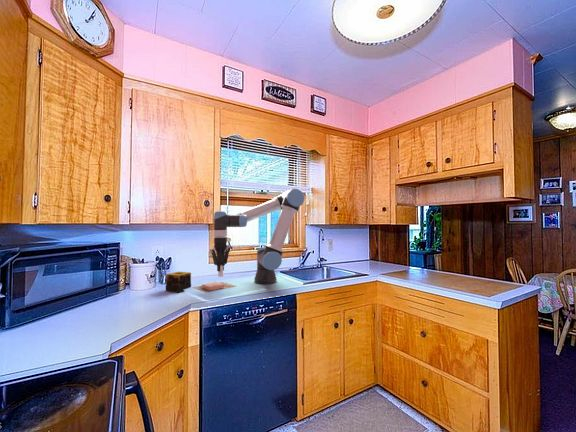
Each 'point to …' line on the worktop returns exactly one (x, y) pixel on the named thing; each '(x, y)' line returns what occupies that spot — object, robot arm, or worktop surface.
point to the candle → (178, 281)
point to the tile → (213, 286)
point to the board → (217, 289)
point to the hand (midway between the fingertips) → (220, 276)
